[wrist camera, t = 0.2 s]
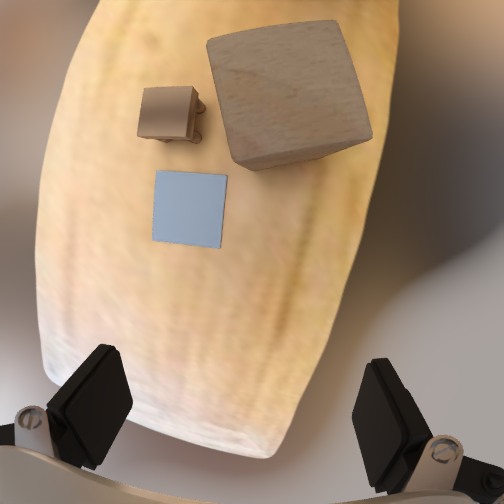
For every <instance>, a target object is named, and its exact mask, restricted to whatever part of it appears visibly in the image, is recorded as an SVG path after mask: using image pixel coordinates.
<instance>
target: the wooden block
mask: <svg viewBox="0 0 504 504" xmlns="http://www.w3.org/2000/svg"><path fill="white" fill-rule="evenodd" d="M206 48H207V53H208V57H209V61H210V66H211V70H212V74H213V79H214V83H215V87H216V92H217V96H218V100H219V105H220V109H221V113H222V118H223V122H224V126H225V131H226V135H227V139H228V144H229V148H230V153H231V157H232V159H233V160H234V162H235V163H237V164H239V165H241V166H243V167H245V168H247V169H249V170H251V171H256V170H261V169H266V168H271V167H275V166H280V165H285V164H291V163H296V162H301V161H307V160H312V159H318V158H322V157H325V156H327V155H330V154H333V153H335V152H338V151H341V150H344V149H346V148H349V147H352V146H355V145H357V144H360V143H363V142H366V141H368V140H370V139H372V134H373V133H372V128H371V124H370V120H369V116H368V112H367V109H366V105H365V101H364V98H363V94H362V91H361V87H360V84H359V81H358V78H357V74H356V71H355V68H354V65H353V62H352V59H351V56H350V54H349V51H348V48H347V45H346V43H345V40H344V37H343V35H342V32H341V30H340V27H339V25H338V23H337V22H336V21H334V20H323V21H309V22H298V23H289V24H281V25H274V26H268V27H262V28H256V29H251V30H245V31H241V32H236V33H231V34H227V35H223V36H219V37H215V38H211V39H209V40H208V41H207V44H206Z"/></svg>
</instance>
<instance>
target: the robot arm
mask: <svg viewBox="0 0 504 504" xmlns="http://www.w3.org/2000/svg"><path fill="white" fill-rule="evenodd" d="M132 405H133V399H132V396H131V393H130V389H129V386H128V382H127V379H126V375H125V372H124V368H123V364H122V360H121V356H120V353H119V351H118V350H116V348H115V347H114V346H111V345H106V344H100V345H99V346H98V347H97V348H96V349H95V350H94V351H93V352H92V353H91V354H90V355H89V357H88V358H87V359H86V360H85V361H84V362H83V363H82V364H81V365H80V367H79V368H78V369H77V370H76V371H75V372H74V373H73V375H72V376H71V377H70V378H69V379H68V380H67V381H66V382H65V384H64V385H63V386H62V387H61V388H60V389H59V391H58V392H57V393H56V394H55V395H54V396H53V398H52V399H51V400H50V401H49V402H48V403H47V407H48V408H47V409H46V411H45V410H44V409H43V408H41V407H39V406H28V407H25V408H23V409H21V410H20V411H19V412H18V413H17V415H16V416H15V423H12V424H7V425H2V426H0V504H219V503H211V502H203V501H196V500H190V499H184V498H179V497H174V496H169V495H164V494H160V493H155V492H151V491H147V490H144V489H140V488H136V487H133V486H129V485H126V484H123V483H119V482H116V481H113V480H110V479H107V478H104V477H102V476H99V475H96V474H93V473H91V472H88V471H85V470H83V469H81V467H82V465H83V466H84V467H86V468H89V469H91V470H95V469H96V467H97V465H101V464H102V462H103V460H104V458H105V457H106V455H107V453H108V451H109V449H110V447H111V445H112V443H113V441H114V440H115V438H116V436H117V434H118V432H119V430H120V428H121V427H122V425H123V423H124V421H125V419H126V417H127V416H128V414H129V412H130V410H131V408H132ZM352 422H353V425H354V428H355V432H356V435H357V439H358V443H359V446H360V450H361V454H362V457H363V461H364V465H365V469H366V473H367V476H368V480H369V484H370V486H371V487H375V491H376V493H380V492H385V491H387V494H388V495H387V496H381V497H375V498H369V499H364V500H357V501H350V502H342V503H333V504H504V469H502V468H500V467H498V466H495V465H491V464H488V463H485V462H481V461H478V460H475V459H472V458H469V457H466V456H463V452H464V450H463V446H462V445H461V443H460V442H459V441H458V440H457V439H456V438H454V437H452V436H448V435H438V436H436V437H433V435H432V433H431V431H430V429H429V427H428V425H427V423H426V421H425V419H424V418H423V416H422V414H421V412H420V410H419V408H418V407H417V405H416V403H415V401H414V399H413V397H412V396H411V394H410V392H409V391H408V390H407V389H405V387H404V385H403V384H402V382H401V380H400V378H399V376H398V375H397V373H396V371H395V370H394V368H393V366H392V364H391V363H390V361H389V360H388V358H378V359H372V361H371V363H368V364H367V365H366V368H365V372H364V376H363V379H362V383H361V386H360V390H359V393H358V396H357V400H356V403H355V406H354V409H353V412H352Z"/></svg>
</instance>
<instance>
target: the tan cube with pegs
mask: <svg viewBox="0 0 504 504" xmlns="http://www.w3.org/2000/svg"><path fill="white" fill-rule="evenodd" d="M198 94H199V93H198V92H197V91H196V90H195V89H194V88H193V86H182V87H154V88H144V92H143V98H142V104H141V110H140V117H139V124H138V131H137V136H138V137H142V138H145V139H156V140H160V141H163V142H169V141H170V140H171V139H181V140H189V141H191V142H193V143H199V142H200V141H201V139H202V137H201V135H200V134H198V133H197V132H195V131H193V130H194V123H195V115H196V112H198V113H202V112H204V111H205V105H204V104H203V103H202V102H201V101H200V100H199V99H198Z"/></svg>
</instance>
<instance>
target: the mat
mask: <svg viewBox="0 0 504 504" xmlns="http://www.w3.org/2000/svg"><path fill="white" fill-rule="evenodd" d="M226 184H227V175H216V174H203V173H190V172H174V171H156V181H155V194H154V210H153V232H152V240H153V241H161V242H169V243H177V244H186V245H194V246H202V247H210V248H218V249H220V247H221V236H222V225H223V214H224V204H225V194H226Z"/></svg>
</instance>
